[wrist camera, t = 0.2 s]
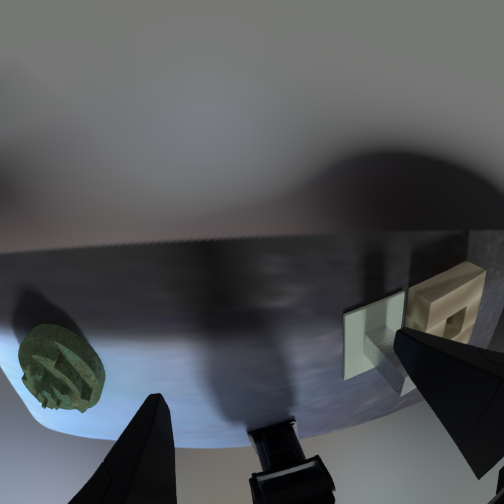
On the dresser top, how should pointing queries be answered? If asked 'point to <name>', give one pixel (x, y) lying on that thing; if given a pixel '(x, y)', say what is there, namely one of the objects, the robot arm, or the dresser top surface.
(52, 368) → the decorative artifact
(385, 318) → the mat
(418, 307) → the hole block
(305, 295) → the dresser top surface
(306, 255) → the dresser top surface
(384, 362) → the pin
